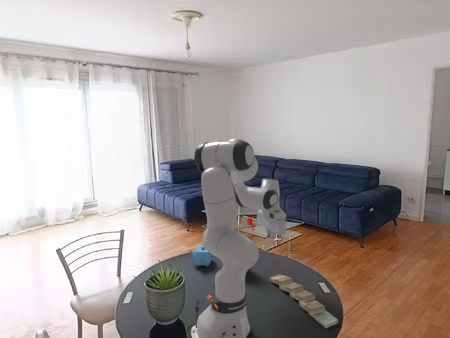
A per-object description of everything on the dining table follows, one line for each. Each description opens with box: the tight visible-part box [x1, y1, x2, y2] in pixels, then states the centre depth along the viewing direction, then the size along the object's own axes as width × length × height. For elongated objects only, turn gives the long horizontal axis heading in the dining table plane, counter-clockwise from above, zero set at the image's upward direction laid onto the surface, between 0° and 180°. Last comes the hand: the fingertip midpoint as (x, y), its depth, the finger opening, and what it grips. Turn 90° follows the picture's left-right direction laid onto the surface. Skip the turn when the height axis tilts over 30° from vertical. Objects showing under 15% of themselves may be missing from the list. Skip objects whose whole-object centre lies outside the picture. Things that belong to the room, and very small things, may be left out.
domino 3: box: [288, 289, 316, 302], centre depth 133 cm, size 2×6×10 cm
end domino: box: [307, 310, 339, 329], centre depth 122 cm, size 2×6×10 cm
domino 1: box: [269, 274, 294, 286], centre depth 146 cm, size 2×6×10 cm
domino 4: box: [298, 299, 326, 315], centre depth 126 cm, size 2×6×10 cm
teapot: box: [188, 245, 215, 268], centre depth 170 cm, size 18×14×10 cm
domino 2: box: [278, 281, 305, 294], centre depth 140 cm, size 2×6×10 cm
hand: (270, 237), depth 151 cm, fingers closed
